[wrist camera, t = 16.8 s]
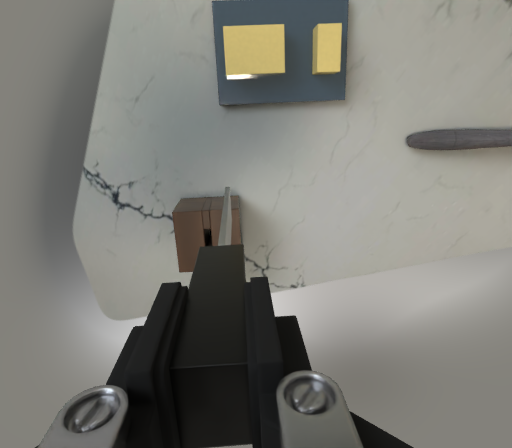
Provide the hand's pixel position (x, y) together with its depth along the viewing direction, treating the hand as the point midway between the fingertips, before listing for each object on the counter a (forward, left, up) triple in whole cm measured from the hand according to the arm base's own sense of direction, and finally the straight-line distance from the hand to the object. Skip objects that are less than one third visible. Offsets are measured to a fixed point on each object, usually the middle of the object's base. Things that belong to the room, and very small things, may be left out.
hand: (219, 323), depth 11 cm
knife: (0, 0, -15) cm, 15 cm away
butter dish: (+6, +12, -32) cm, 35 cm away
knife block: (-3, -7, -32) cm, 33 cm away
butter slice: (+11, +12, -31) cm, 35 cm away
